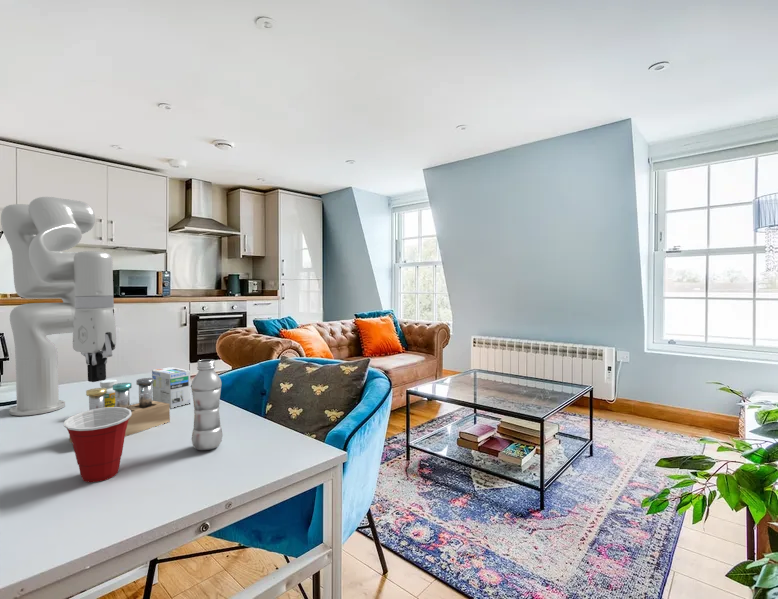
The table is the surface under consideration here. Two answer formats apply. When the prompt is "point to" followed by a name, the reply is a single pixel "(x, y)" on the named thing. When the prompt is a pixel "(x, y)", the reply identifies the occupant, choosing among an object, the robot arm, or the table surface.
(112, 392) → the supplement bottle
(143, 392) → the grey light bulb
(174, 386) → the light bulb box
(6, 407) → the table surface
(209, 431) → the plastic bottle
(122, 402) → the plug teal
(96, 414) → the plastic cup
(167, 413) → the oak block
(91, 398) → the plug brass
